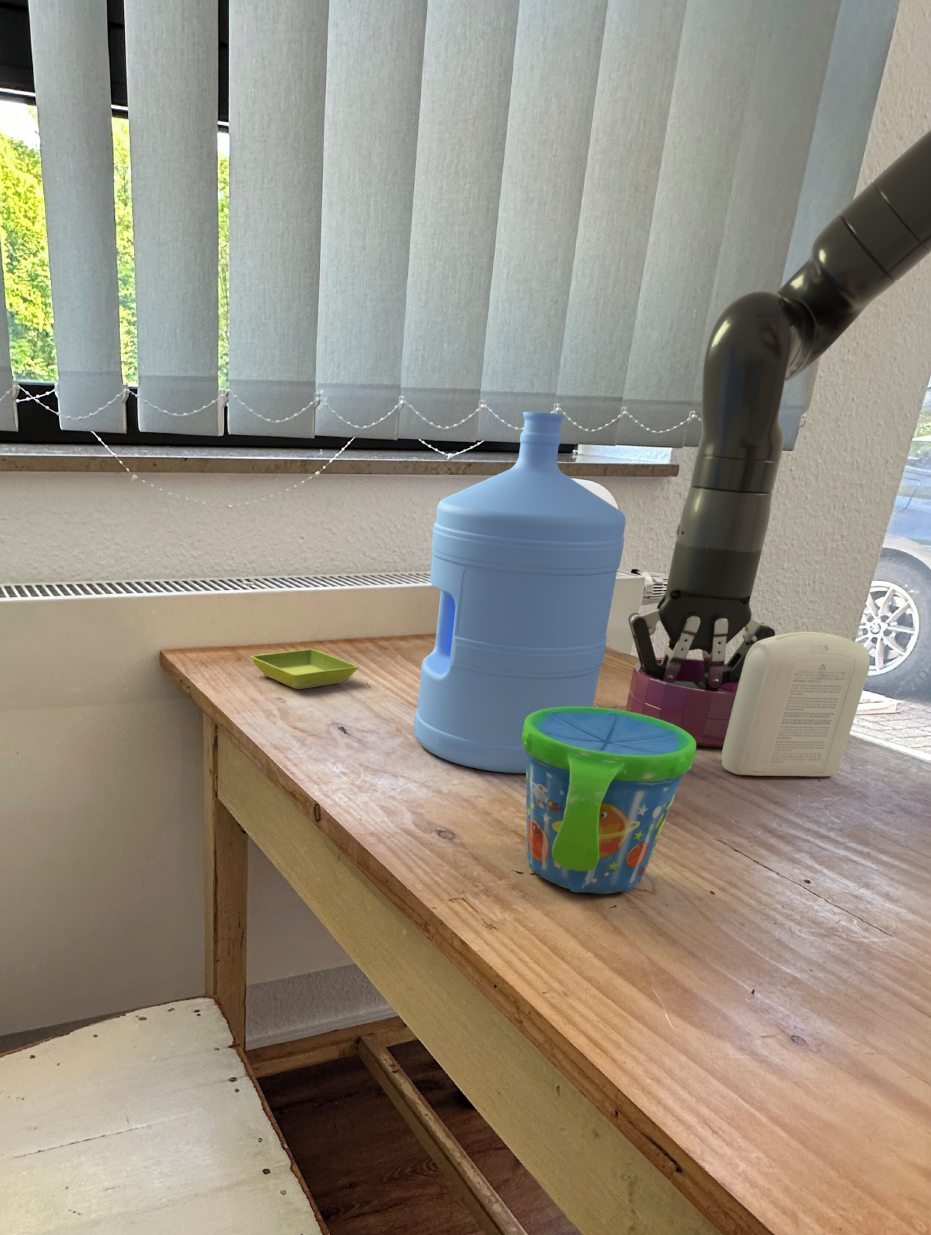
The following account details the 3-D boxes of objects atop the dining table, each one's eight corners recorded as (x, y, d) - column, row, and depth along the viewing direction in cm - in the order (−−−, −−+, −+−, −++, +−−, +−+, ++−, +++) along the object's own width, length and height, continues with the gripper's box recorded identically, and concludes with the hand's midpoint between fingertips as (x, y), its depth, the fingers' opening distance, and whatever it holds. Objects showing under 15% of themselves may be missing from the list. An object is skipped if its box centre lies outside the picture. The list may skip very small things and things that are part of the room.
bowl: (741, 714, 100) (753, 662, 98) (783, 756, 88) (798, 699, 86) (614, 704, 101) (623, 653, 99) (638, 744, 89) (650, 687, 87)
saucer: (312, 665, 110) (313, 647, 109) (359, 684, 103) (360, 666, 102) (248, 674, 105) (248, 655, 104) (293, 694, 98) (293, 675, 98)
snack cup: (541, 816, 73) (562, 686, 68) (685, 851, 68) (717, 715, 64) (466, 896, 60) (486, 743, 56) (635, 946, 55) (670, 784, 51)
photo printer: (815, 762, 87) (853, 628, 82) (845, 779, 83) (886, 640, 78) (711, 762, 86) (743, 626, 81) (736, 780, 82) (772, 637, 77)
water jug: (609, 743, 89) (670, 419, 78) (546, 792, 77) (607, 417, 66) (459, 708, 97) (494, 409, 85) (381, 747, 85) (410, 405, 73)
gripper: (650, 540, 85) (615, 725, 92) (812, 552, 84) (764, 738, 91) (634, 530, 92) (602, 703, 99) (783, 540, 91) (740, 714, 98)
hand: (680, 718), depth 95 cm, fingers closed on eraser, 2 cm apart
